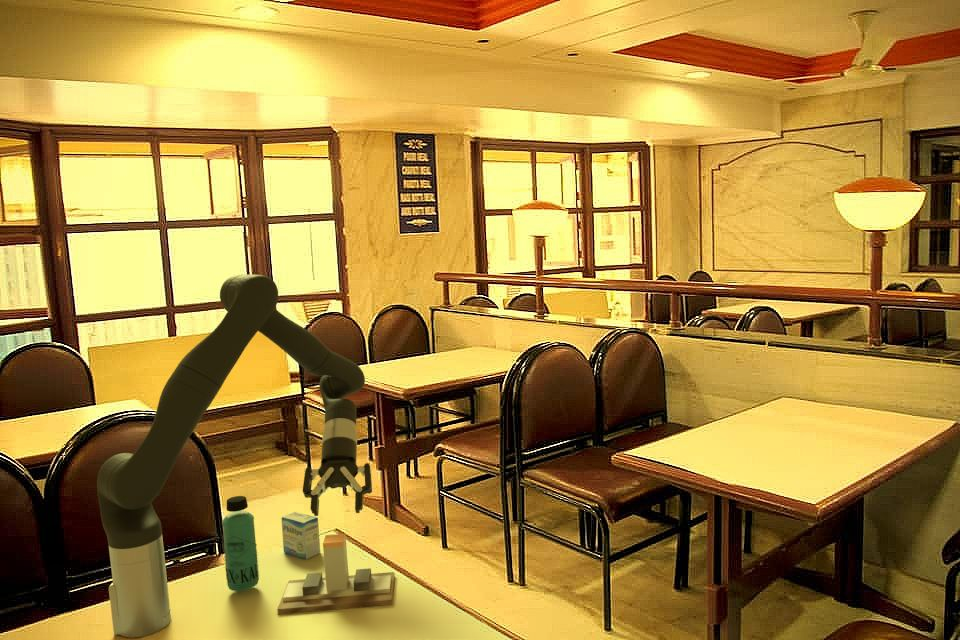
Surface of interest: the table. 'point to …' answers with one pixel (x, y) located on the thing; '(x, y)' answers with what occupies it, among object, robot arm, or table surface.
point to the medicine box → (300, 535)
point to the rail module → (336, 562)
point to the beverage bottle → (240, 546)
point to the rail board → (337, 592)
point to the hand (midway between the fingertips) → (336, 513)
